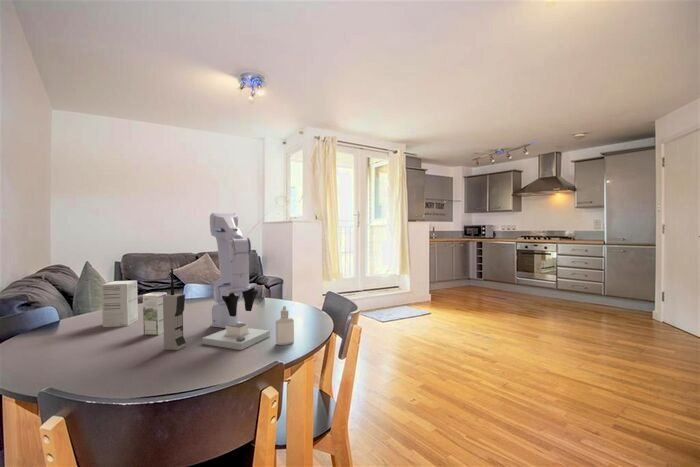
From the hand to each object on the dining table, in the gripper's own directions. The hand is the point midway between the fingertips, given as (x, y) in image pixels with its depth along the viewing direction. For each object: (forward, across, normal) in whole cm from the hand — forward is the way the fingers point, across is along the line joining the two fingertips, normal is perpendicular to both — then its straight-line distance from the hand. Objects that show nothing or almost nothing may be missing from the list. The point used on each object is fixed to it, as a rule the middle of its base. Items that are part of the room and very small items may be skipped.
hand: (240, 313), depth 113 cm
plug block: (+8, -2, 0) cm, 9 cm away
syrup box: (+9, -7, +34) cm, 35 cm away
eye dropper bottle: (+8, +1, -17) cm, 19 cm away
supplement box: (+9, -3, +60) cm, 60 cm away
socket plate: (+8, -2, 0) cm, 9 cm away
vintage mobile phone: (+8, -16, +12) cm, 22 cm away
